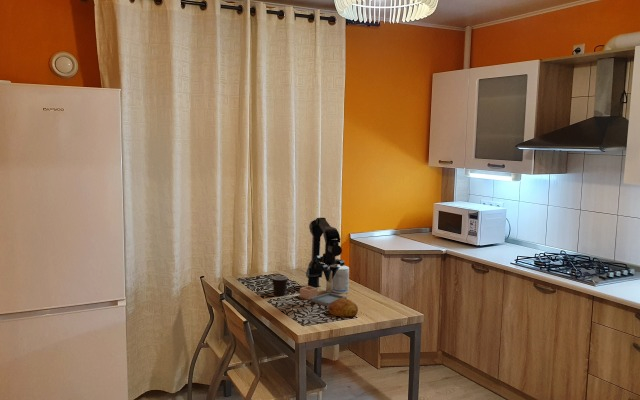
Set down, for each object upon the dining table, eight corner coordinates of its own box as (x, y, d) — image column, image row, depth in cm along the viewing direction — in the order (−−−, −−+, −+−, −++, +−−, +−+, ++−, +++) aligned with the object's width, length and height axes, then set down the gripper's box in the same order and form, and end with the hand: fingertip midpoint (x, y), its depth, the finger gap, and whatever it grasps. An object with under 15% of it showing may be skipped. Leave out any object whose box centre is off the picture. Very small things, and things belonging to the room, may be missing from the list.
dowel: (328, 289, 277) (329, 270, 276) (332, 291, 275) (333, 271, 274) (325, 291, 275) (325, 271, 273) (329, 292, 273) (330, 272, 271)
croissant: (347, 310, 268) (346, 295, 268) (362, 316, 254) (362, 300, 254) (322, 313, 261) (322, 297, 262) (337, 318, 247) (337, 302, 248)
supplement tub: (331, 289, 299) (332, 264, 298) (347, 289, 299) (348, 265, 297) (332, 294, 289) (332, 268, 288) (348, 294, 289) (349, 269, 288)
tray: (329, 296, 285) (329, 292, 285) (346, 300, 278) (346, 296, 277) (310, 302, 273) (310, 298, 273) (327, 307, 265) (327, 303, 265)
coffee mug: (284, 298, 279) (285, 280, 277) (269, 297, 280) (270, 279, 279) (290, 292, 290) (290, 275, 289) (275, 291, 292) (276, 274, 290)
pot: (307, 295, 286) (308, 285, 285) (317, 297, 281) (317, 288, 281) (299, 297, 280) (300, 288, 280) (308, 300, 276) (309, 290, 275)
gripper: (329, 247, 285) (328, 274, 286) (307, 252, 270) (306, 280, 272) (345, 250, 277) (344, 278, 279) (323, 255, 263) (322, 284, 265)
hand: (329, 280), depth 274 cm, fingers closed on dowel, 3 cm apart
